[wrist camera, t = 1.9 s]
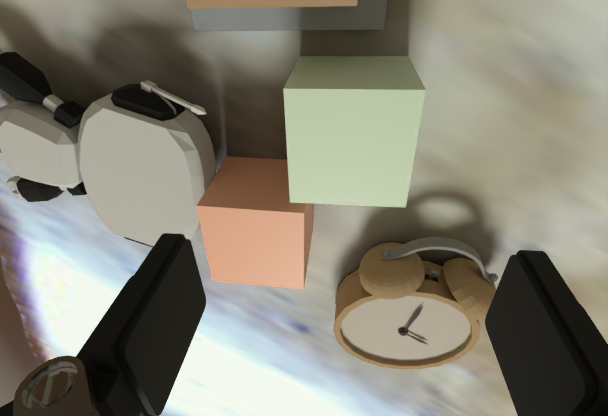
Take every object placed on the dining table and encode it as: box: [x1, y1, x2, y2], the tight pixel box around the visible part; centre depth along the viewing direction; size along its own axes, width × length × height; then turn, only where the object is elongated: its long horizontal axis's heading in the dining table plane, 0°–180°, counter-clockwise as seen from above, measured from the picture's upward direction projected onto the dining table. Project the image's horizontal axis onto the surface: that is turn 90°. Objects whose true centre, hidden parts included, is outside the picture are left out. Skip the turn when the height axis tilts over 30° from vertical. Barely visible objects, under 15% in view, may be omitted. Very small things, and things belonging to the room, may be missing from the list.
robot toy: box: [0, 50, 216, 247], centre depth 24 cm, size 12×4×15 cm
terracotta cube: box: [197, 156, 313, 289], centre depth 24 cm, size 6×6×6 cm
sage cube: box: [283, 56, 426, 207], centre depth 19 cm, size 6×6×6 cm
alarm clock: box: [333, 237, 498, 369], centre depth 29 cm, size 11×5×15 cm
